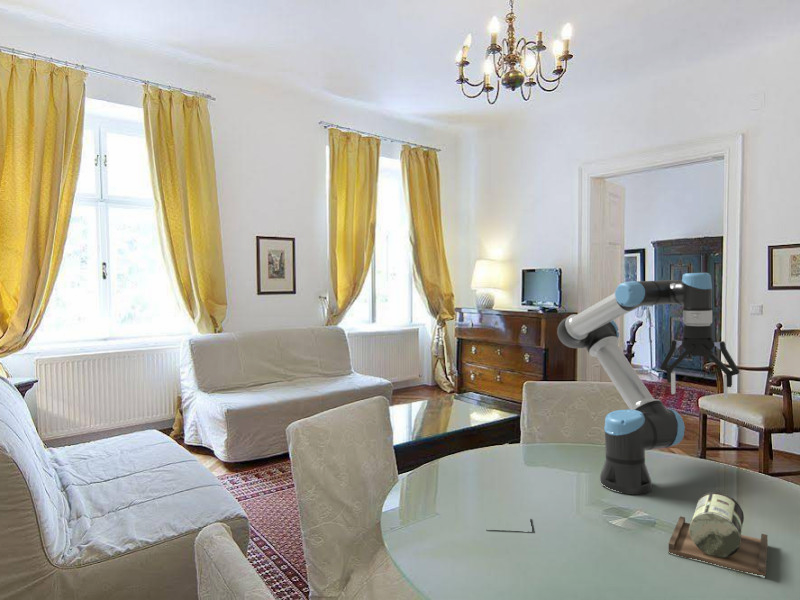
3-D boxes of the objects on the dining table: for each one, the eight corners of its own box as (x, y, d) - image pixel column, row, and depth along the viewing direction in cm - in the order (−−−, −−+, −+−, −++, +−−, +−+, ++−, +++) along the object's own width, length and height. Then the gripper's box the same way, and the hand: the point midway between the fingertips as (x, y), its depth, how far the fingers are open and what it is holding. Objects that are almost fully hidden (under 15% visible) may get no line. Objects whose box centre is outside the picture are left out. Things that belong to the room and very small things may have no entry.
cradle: (765, 578, 113) (765, 566, 113) (668, 553, 124) (668, 543, 124) (767, 545, 126) (767, 534, 126) (680, 525, 138) (680, 516, 138)
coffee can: (718, 567, 120) (723, 541, 131) (751, 540, 115) (754, 516, 127) (678, 530, 124) (687, 508, 135) (709, 503, 120) (715, 483, 131)
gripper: (649, 324, 158) (650, 393, 158) (747, 326, 143) (748, 402, 143) (654, 322, 164) (655, 389, 164) (749, 324, 149) (750, 397, 150)
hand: (698, 395), depth 154 cm, fingers open, 13 cm apart
